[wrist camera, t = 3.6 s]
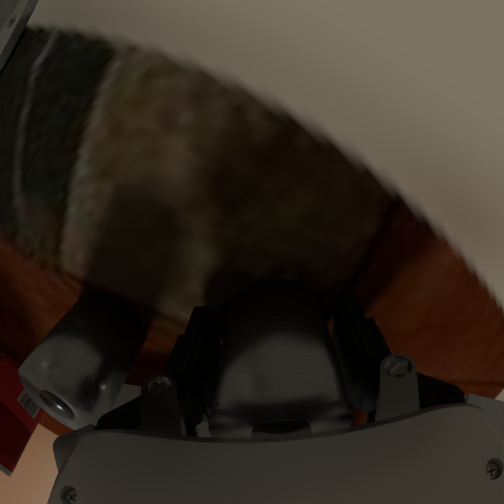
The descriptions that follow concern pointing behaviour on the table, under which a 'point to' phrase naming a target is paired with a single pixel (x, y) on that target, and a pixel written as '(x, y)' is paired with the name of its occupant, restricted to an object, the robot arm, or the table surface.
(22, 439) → the canned food
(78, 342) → the spacer
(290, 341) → the spacer
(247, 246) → the table surface
